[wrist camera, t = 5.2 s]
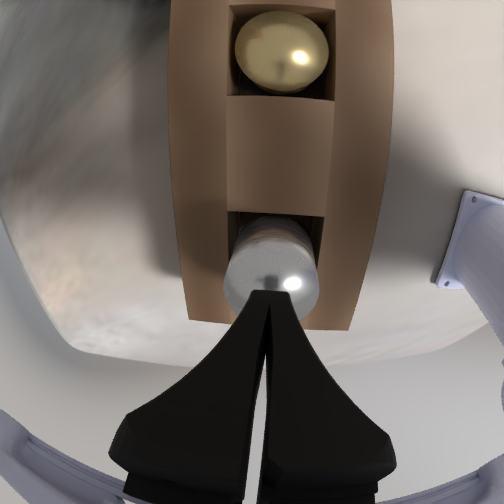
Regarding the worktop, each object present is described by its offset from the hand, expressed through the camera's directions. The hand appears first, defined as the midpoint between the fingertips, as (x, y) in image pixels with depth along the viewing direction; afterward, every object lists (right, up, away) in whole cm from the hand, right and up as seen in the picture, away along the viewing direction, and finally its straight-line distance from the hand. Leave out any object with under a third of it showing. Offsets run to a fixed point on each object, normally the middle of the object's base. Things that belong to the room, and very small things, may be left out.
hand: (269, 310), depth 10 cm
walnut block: (+1, +8, +5) cm, 10 cm away
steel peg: (+1, +3, +5) cm, 5 cm away
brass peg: (+1, +13, +2) cm, 13 cm away
